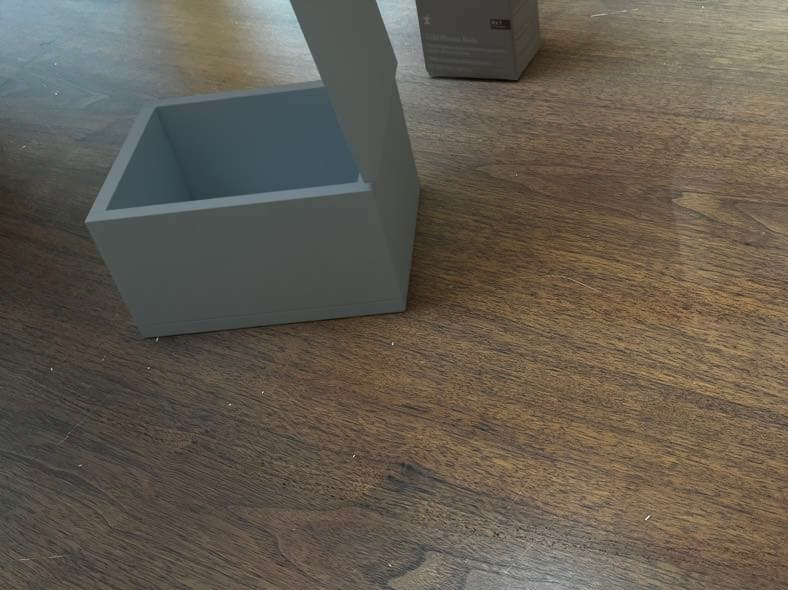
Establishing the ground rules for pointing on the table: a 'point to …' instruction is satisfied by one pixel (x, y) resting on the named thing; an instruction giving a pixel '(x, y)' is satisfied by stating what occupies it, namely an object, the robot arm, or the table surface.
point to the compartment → (255, 213)
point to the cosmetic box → (478, 37)
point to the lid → (353, 71)
